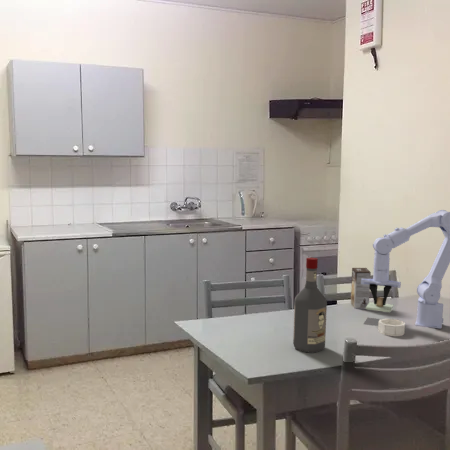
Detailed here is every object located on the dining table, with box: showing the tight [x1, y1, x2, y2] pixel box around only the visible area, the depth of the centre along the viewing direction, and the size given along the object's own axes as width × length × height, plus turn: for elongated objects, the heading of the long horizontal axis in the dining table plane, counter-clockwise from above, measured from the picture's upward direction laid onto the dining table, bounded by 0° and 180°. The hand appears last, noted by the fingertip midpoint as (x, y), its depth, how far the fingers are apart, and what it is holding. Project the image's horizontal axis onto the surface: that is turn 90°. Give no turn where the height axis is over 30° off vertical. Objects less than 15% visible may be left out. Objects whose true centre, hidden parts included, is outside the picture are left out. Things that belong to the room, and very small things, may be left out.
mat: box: [363, 317, 381, 327], centre depth 219 cm, size 10×10×1 cm
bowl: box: [377, 318, 406, 337], centre depth 206 cm, size 9×9×4 cm
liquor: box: [292, 257, 328, 353], centre depth 187 cm, size 9×9×30 cm
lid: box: [365, 296, 394, 313], centre depth 218 cm, size 9×9×4 cm
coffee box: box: [350, 267, 372, 310], centre depth 242 cm, size 9×6×16 cm
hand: (379, 304), depth 218 cm, fingers closed on lid, 3 cm apart
